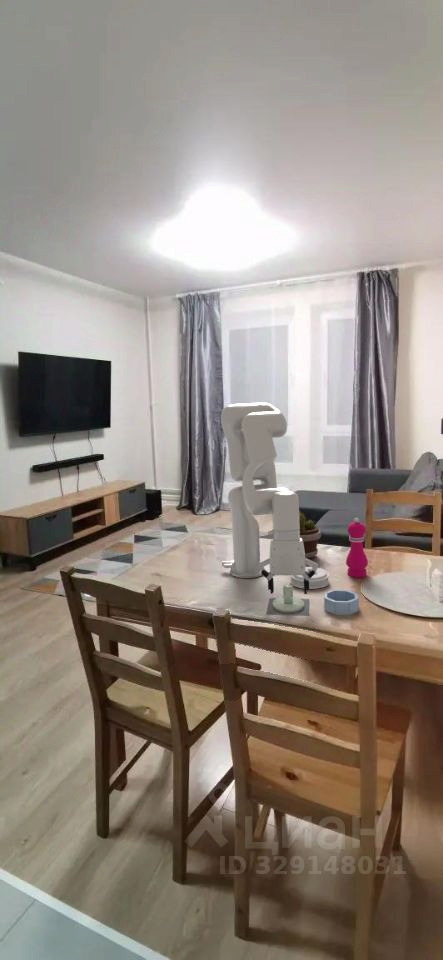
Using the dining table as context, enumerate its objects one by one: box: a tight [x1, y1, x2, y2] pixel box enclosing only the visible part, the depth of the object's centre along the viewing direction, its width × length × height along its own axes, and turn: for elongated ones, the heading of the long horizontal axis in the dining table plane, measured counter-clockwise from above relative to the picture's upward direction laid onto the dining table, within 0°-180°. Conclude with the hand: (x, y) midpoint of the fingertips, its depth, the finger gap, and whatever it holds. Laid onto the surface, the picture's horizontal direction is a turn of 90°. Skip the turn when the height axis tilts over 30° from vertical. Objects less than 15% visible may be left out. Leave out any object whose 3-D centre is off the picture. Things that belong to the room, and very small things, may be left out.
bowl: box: [323, 589, 360, 616], centre depth 139 cm, size 9×9×4 cm
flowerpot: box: [299, 510, 322, 560], centre depth 189 cm, size 14×15×20 cm
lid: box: [289, 566, 330, 590], centre depth 160 cm, size 13×13×5 cm
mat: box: [265, 597, 310, 617], centre depth 142 cm, size 12×12×1 cm
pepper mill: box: [345, 517, 369, 578], centre depth 166 cm, size 7×7×20 cm
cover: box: [273, 583, 304, 613], centre depth 142 cm, size 9×9×6 cm
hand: (288, 592), depth 141 cm, fingers open, 9 cm apart
